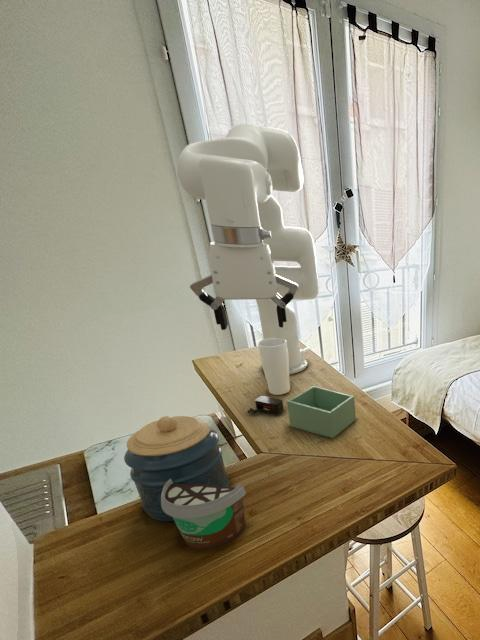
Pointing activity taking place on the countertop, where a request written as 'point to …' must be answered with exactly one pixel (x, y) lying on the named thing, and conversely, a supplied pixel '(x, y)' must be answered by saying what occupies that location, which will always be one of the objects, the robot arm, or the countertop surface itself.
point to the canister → (173, 459)
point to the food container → (205, 512)
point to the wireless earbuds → (268, 405)
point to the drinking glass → (275, 364)
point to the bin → (321, 411)
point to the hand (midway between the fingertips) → (253, 326)
